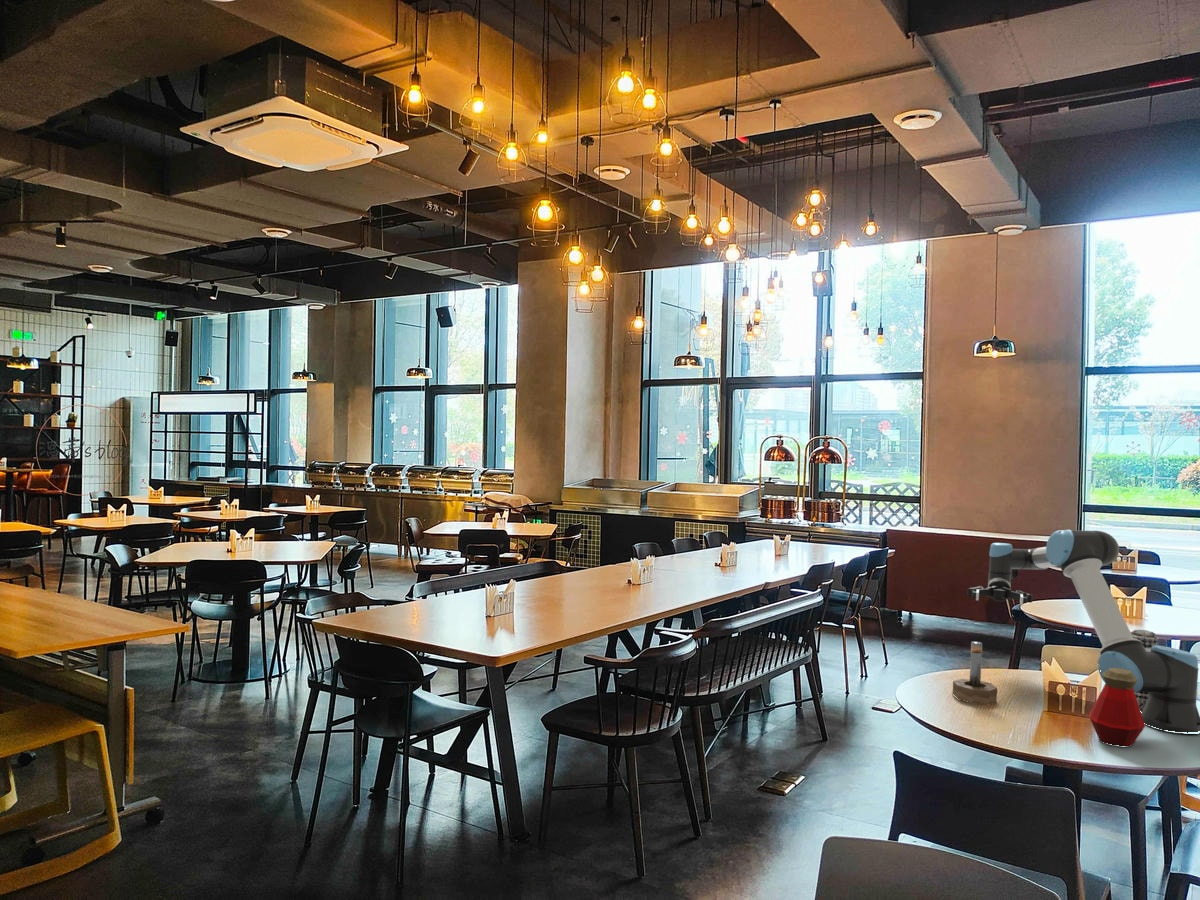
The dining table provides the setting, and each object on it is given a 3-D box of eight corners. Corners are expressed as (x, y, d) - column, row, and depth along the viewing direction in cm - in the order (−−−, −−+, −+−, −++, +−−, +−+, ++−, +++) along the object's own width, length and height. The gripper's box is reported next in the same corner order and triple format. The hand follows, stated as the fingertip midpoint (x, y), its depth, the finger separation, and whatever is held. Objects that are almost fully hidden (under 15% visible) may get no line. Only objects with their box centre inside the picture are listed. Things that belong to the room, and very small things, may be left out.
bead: (1000, 705, 263) (1001, 691, 263) (961, 702, 265) (961, 688, 264) (986, 693, 275) (987, 680, 275) (949, 691, 277) (949, 677, 276)
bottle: (1092, 728, 245) (1096, 660, 245) (1147, 740, 236) (1151, 669, 236) (1082, 742, 233) (1086, 670, 232) (1140, 755, 224) (1143, 681, 224)
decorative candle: (1147, 706, 268) (1151, 628, 268) (1163, 715, 259) (1167, 635, 259) (1116, 704, 269) (1120, 627, 269) (1132, 713, 260) (1136, 633, 260)
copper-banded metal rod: (981, 700, 268) (983, 644, 268) (970, 699, 269) (973, 643, 268) (977, 697, 272) (980, 641, 271) (967, 696, 272) (969, 641, 272)
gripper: (1037, 603, 297) (1040, 614, 278) (961, 595, 308) (958, 605, 289) (1038, 582, 297) (1041, 592, 278) (962, 575, 308) (959, 583, 288)
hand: (999, 598), depth 283 cm, fingers open, 13 cm apart
